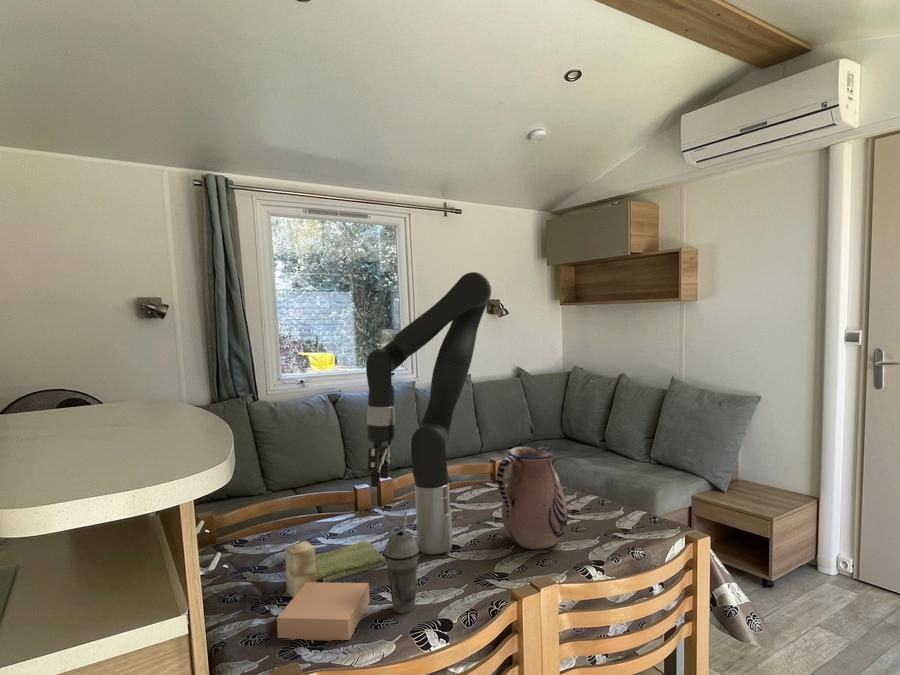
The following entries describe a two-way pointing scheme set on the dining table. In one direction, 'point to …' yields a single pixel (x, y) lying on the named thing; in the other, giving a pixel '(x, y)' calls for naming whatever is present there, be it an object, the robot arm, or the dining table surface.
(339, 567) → the washcloth
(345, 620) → the terracotta plinth
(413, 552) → the beverage cup
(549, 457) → the ceramic pitcher
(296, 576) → the birch block
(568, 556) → the dining table surface
